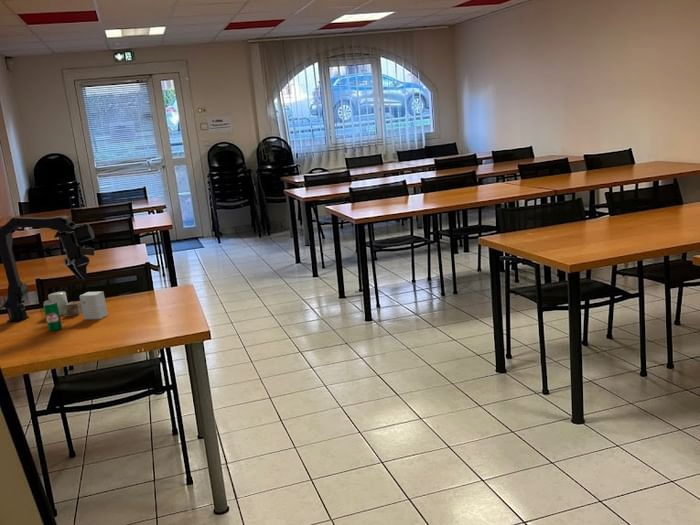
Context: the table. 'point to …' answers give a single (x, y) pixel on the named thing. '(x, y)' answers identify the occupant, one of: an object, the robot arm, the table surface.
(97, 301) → the small box
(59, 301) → the sage mug
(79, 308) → the walnut block
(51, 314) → the soda can
